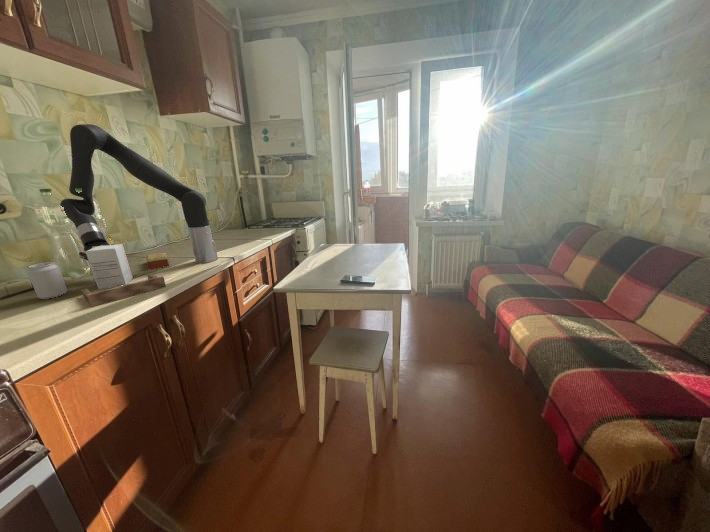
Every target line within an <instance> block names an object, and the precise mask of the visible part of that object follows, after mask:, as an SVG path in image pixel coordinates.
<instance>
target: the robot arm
mask: <svg viewBox="0 0 710 532" xmlns="http://www.w3.org/2000/svg"><path fill="white" fill-rule="evenodd" d="M69 133H70V134H69V138H70V139H69V140H70V152H71V174H70V179H69V180H70V181H69V187H68V188H69V189H68V190H69V193H70V194H71V195H73V196H76V197H79V198H83V199H77V198H64V199H62V200H61V202H60V203H59V205H60V206H62V207H64V211H65V213H66V215H67V216H66V215H65V216H66V217H67V218H68V219H69V220H70V221H71V222H72V223H73V224H74V226H75V229H76V230H77V234H78V236H79V238H78V239H80V241H81V244H82V246H83V251H80V252H79V253H78V255H79V258H81V259H83V260H85V261H88V262H89V260H88V258H87V255H86V251H88V250H90V249H92V248H94V247H97V246H106V245H111V244H110V243H108V240H107V239H106V236H105V235H104V231H102V229H101V228H100V226H99V223H97V220H96V219H95V217H94V216H93V215H94V213H95V211H96V209H95V203H94V198H93V190H94V186H95V185H94V184H95V174H94V171H93V167H92V160H93V155H94V152H95V151H96V150H99V151H101V152H103V153H105V154H107V155H109V157H111V158H114V160H116V161H117V162H119V163H120V164H121V165H122V167H123V168H124V169H125V170H126V171H127V172H128V173H129V174H130V175H131V176H133V177H134V178H136V179H137V180H139V181H141V183H144V184H146V185H147V186H149V187H152V188H153V189H156V190H158V191H161V192H163V193H166V194H168V195H169V196H172V197H173V198H174V199H176V200H177V201H179V202H180V203H181V208H182V212H183V215H184V216H183V217H184V220H185V222H186V224H187V229H188V234H189V238H190V244H191V248H192V251H193V256H194V261H195V264H205V263H206V264H207V263H212V262H214V261H217V260H218V259H219V256H218V251H217V247H216V246H217V245H216V242H215V240H213V235H212V231H211V225H210V220H209V218H208V215H207V210H206V206H207V200H206V198H205V196H204V195H203V194H202V193H200V192H198V191H196V190H194V189H192V188H191V187H189V186H187V185H185V184H183V183H182V182H180V181H178V180H177V179H176V178H174V177H173V176H172V175H171V174H169V173H168V172H167V171H166V170H163V169H162V168H161V167H159V166H158V165H157V164H155V163H153V162H152V161H151V160H149V159H147V158H145V157H144V156H142V155H140V154H139V153H137V152H136V151H135V150H133V149H131V148H129V147H127V146H126V145H124V144H123V143H122V142H120V141H119V140H118V139H117V138H115V137H114V136H112V135H111V134H110V133H109V132H108V131H106V130H105V129H104V128H102V127H100V126H98V125H96V124H91V123H90V124H89V123H88V124H85V123H83V124H75V125H74V126H72V127H71V129H70V130H69ZM75 188H82V192H80V193H78V192H76V191H75ZM60 206H59V207H60Z"/></svg>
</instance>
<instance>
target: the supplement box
mask: <svg viewBox="0 0 710 532" xmlns="http://www.w3.org/2000/svg"><path fill="white" fill-rule="evenodd" d="M86 255H87V258H88V260H89V261H88V264H89V265H90V269H91V272H92V274H93V277H94V281H95V283H96V286H97V289H98V290H104V289H110V288H109V287H111V288H115V286H118V287H119V286H121V285H127V284H130V282H131V281H132V280H133V279H134V278H133V277H134V276H133V274H132V270H131V268H130V264H129V261H128V257H127V255H126V251H125V248H124V244H123V243H118V244H110V245H106V246H97V247H94V248H92V249H90V250H88V251H86ZM103 288H104V289H103Z"/></svg>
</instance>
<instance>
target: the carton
mask: <svg viewBox="0 0 710 532" xmlns="http://www.w3.org/2000/svg"><path fill="white" fill-rule="evenodd" d="M146 266H147V270H148V269H151V270H153V269H152V268H156V269H159V268H158V267H162V268H164V267H163V266H168V267H170V262H169V259H168V254H167V252H160V253H159V252H158V253H153V254H147V255H146Z"/></svg>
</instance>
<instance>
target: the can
mask: <svg viewBox="0 0 710 532" xmlns="http://www.w3.org/2000/svg"><path fill="white" fill-rule="evenodd" d="M26 273H27V274H28V277H29V281H30V282H31V284H32V287H33V290H34V291H35V294H36V296H37V298H38V299H41V300H50V299H49V298H52V299H55V298H54V297H56V298H59V297H58V296H60V297H61V295H62V296H64V295H65V294H66V293H67V292H68V288H67V285H66V283H65V280H64V277H63V274H62V272H61V269H60V267H59V265H57V264H55V262H54V261H53V262H52V261H50V262H49V261H47V262H41V263H35V264H31V265H29V266H28V270H27V272H26ZM63 294H64V295H63Z"/></svg>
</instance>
